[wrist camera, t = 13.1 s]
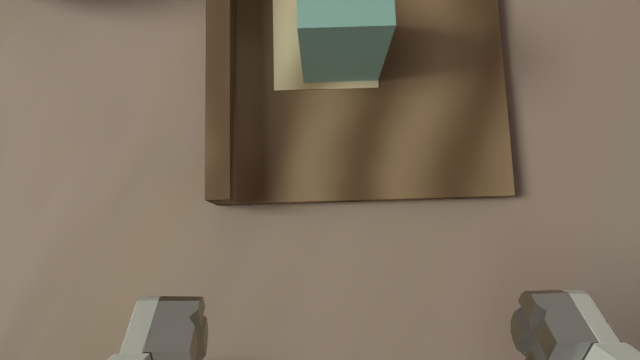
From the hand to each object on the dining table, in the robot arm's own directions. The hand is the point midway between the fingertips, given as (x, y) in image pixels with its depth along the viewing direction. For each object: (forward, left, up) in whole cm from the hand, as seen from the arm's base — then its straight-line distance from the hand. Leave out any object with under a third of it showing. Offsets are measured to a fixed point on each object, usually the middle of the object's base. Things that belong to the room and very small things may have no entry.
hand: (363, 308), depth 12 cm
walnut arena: (+2, +13, -19) cm, 24 cm away
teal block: (+1, +15, -18) cm, 23 cm away
